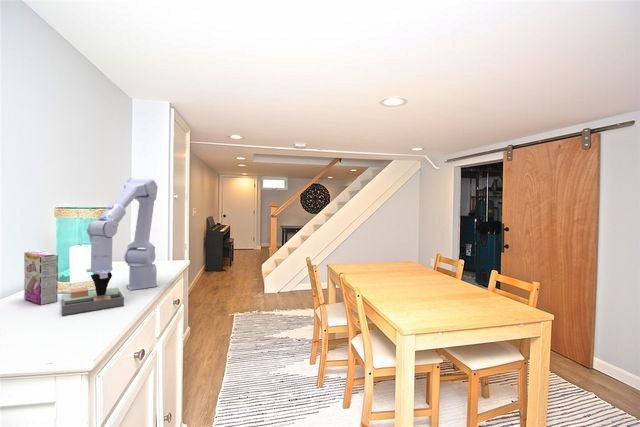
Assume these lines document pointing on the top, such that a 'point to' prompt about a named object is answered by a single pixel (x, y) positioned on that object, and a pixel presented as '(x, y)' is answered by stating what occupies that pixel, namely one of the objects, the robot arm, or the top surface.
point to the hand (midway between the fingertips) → (101, 295)
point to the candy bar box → (40, 277)
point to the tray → (91, 305)
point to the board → (90, 295)
